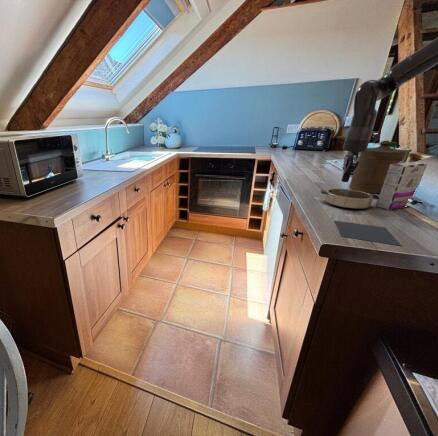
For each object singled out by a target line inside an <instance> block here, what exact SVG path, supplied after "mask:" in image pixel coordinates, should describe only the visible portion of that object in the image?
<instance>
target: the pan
mask: <svg viewBox="0 0 438 436" xmlns="http://www.w3.org/2000/svg"><path fill="white" fill-rule="evenodd" d="M320 193H321V194H322V195H324V197H323V200H324V202H325V203H327V204H329V205H331V206H333V207H339V208H343V209H349V210H366V209H368V208H369V207H371V205H372V203H373V200H378V199H379V195H378V194H372V193H366V192H362V191H357V190H354V189H351V188H328V189H326V190H325V189H320Z"/></svg>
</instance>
